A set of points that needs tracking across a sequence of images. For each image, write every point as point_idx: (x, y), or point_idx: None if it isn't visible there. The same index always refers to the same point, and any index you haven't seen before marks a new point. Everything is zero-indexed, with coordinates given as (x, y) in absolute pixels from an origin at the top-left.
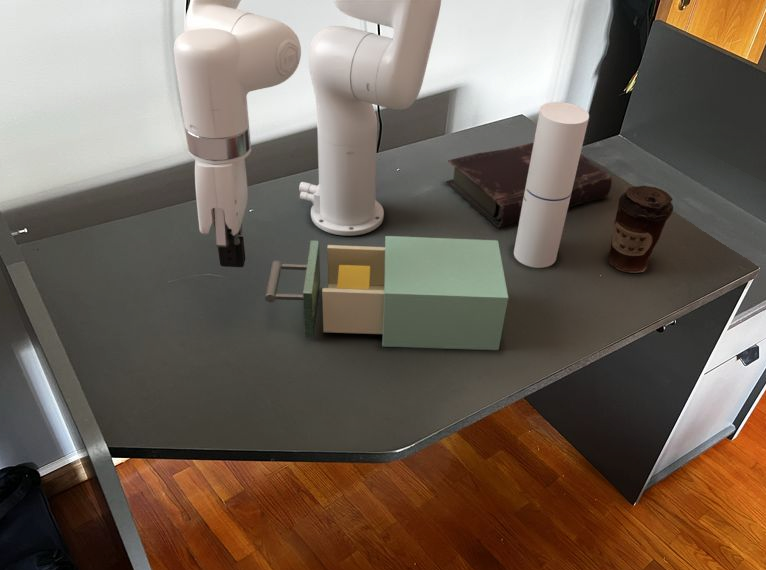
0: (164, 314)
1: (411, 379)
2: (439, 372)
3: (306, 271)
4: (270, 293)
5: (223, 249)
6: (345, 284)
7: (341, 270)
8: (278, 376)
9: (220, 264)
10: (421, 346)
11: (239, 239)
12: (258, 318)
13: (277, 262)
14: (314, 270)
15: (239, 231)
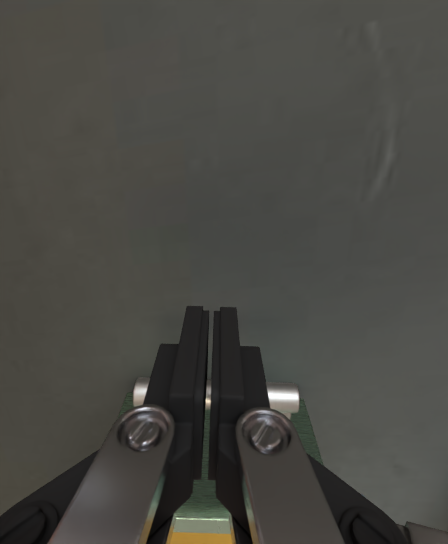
0: (204, 43)
1: None
2: None
3: (180, 519)
4: (137, 404)
5: (146, 398)
6: (179, 541)
7: None
8: (24, 344)
9: (187, 307)
10: None
11: (210, 479)
12: (197, 297)
13: (288, 411)
14: (187, 532)
15: (230, 525)
